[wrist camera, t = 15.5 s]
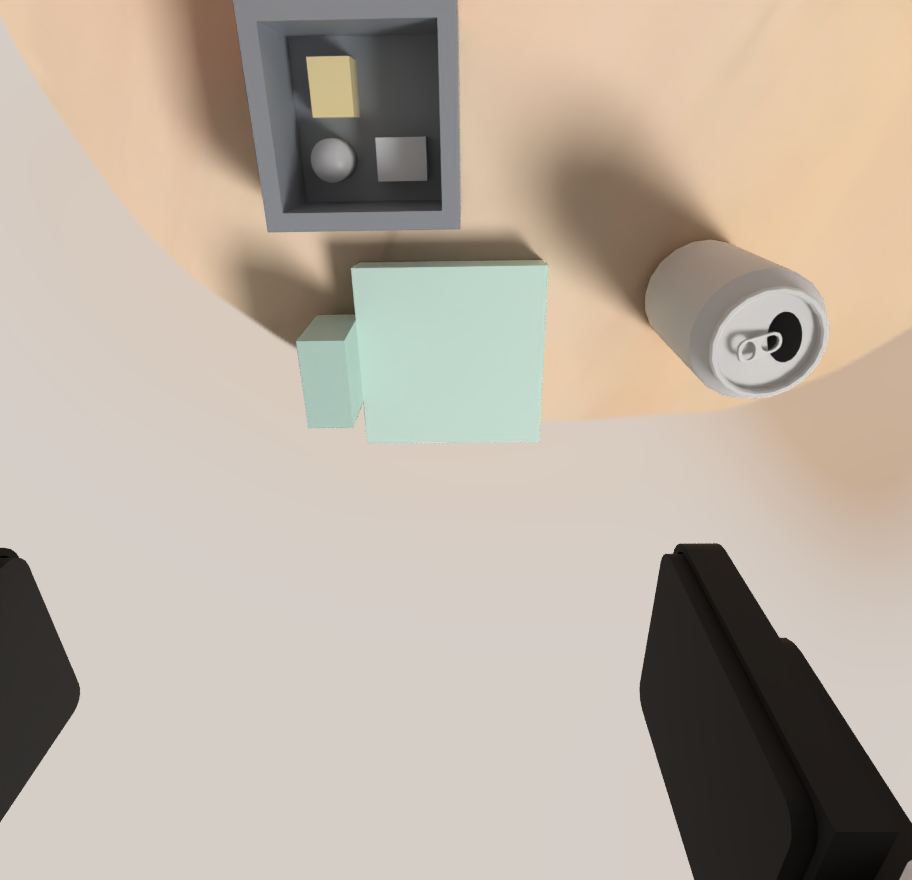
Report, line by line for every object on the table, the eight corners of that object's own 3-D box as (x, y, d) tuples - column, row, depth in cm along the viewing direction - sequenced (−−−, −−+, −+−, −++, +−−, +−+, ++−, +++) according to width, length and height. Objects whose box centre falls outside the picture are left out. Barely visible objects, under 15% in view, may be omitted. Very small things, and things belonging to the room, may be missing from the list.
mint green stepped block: (313, 261, 42) (287, 284, 36) (544, 258, 42) (558, 280, 36) (334, 429, 48) (314, 473, 42) (536, 427, 48) (546, 471, 42)
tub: (272, 19, 36) (232, -4, 30) (458, 15, 36) (457, -8, 29) (297, 216, 41) (267, 232, 35) (460, 213, 41) (460, 229, 34)
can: (753, 327, 44) (845, 390, 33) (649, 355, 45) (706, 425, 34) (744, 223, 41) (844, 256, 30) (633, 255, 42) (691, 298, 31)
